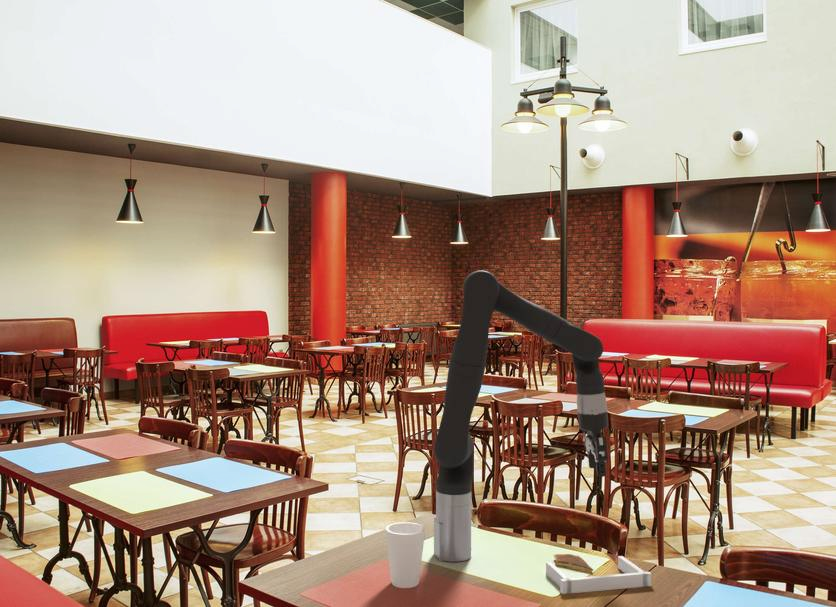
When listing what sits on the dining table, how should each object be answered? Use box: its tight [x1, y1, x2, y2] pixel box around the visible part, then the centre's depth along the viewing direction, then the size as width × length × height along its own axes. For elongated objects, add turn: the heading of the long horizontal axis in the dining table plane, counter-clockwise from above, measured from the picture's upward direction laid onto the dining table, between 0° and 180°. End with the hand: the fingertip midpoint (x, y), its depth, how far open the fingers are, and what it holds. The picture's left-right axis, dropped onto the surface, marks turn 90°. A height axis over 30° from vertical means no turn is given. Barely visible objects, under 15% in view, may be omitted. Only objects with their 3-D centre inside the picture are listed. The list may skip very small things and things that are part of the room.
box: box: [545, 555, 652, 595], centre depth 178 cm, size 22×12×3 cm, turn 103°
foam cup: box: [384, 521, 426, 589], centre depth 176 cm, size 10×9×13 cm
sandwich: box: [553, 553, 594, 574], centre depth 187 cm, size 11×8×2 cm
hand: (597, 471), depth 193 cm, fingers open, 8 cm apart
